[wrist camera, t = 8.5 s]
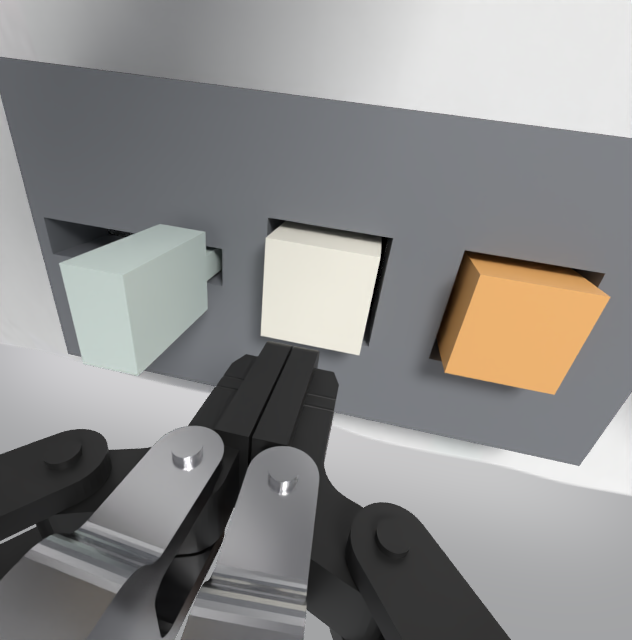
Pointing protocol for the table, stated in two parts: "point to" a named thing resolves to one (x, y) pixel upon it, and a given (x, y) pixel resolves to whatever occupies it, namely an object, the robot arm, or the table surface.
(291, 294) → the cream button
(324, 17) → the table surface
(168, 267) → the pale green rectangular block
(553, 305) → the orange button
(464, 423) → the switch panel
